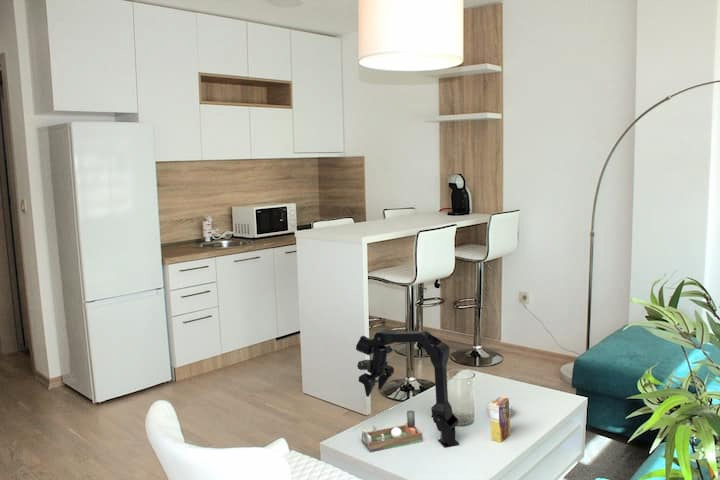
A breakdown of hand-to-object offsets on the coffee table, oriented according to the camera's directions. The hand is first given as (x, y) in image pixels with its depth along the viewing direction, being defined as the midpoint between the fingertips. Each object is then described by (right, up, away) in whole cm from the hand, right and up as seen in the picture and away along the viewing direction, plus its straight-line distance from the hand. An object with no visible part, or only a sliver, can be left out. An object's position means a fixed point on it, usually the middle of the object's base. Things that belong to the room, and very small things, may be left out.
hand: (373, 392), depth 254 cm
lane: (+7, -16, -12) cm, 22 cm away
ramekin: (+54, -12, +7) cm, 56 cm away
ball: (+9, -13, -12) cm, 20 cm away
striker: (+15, -15, -10) cm, 23 cm away
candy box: (+50, -15, -13) cm, 54 cm away
